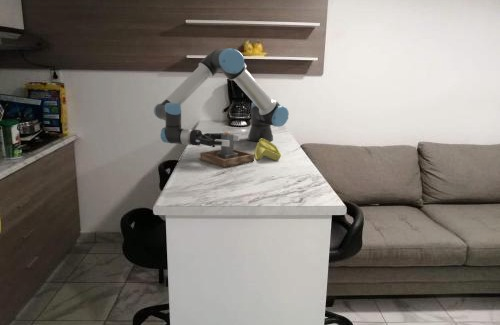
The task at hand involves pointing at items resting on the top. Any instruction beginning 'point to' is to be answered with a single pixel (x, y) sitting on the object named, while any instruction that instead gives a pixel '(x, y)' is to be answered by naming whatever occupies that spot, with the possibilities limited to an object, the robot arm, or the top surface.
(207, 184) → the top surface
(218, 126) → the top surface
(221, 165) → the box
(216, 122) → the top surface
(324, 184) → the top surface
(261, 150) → the plastic component
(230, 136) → the grey tall block
